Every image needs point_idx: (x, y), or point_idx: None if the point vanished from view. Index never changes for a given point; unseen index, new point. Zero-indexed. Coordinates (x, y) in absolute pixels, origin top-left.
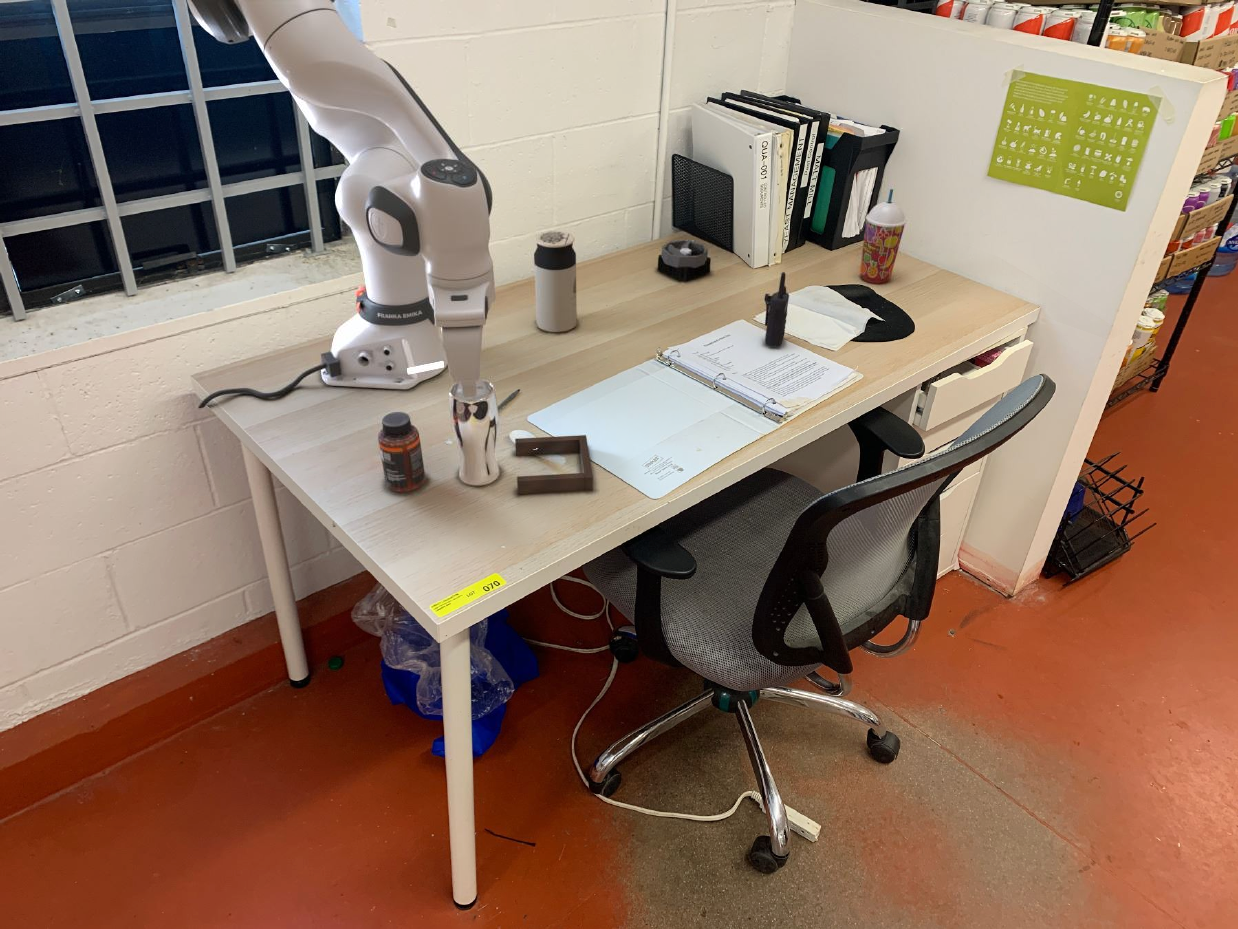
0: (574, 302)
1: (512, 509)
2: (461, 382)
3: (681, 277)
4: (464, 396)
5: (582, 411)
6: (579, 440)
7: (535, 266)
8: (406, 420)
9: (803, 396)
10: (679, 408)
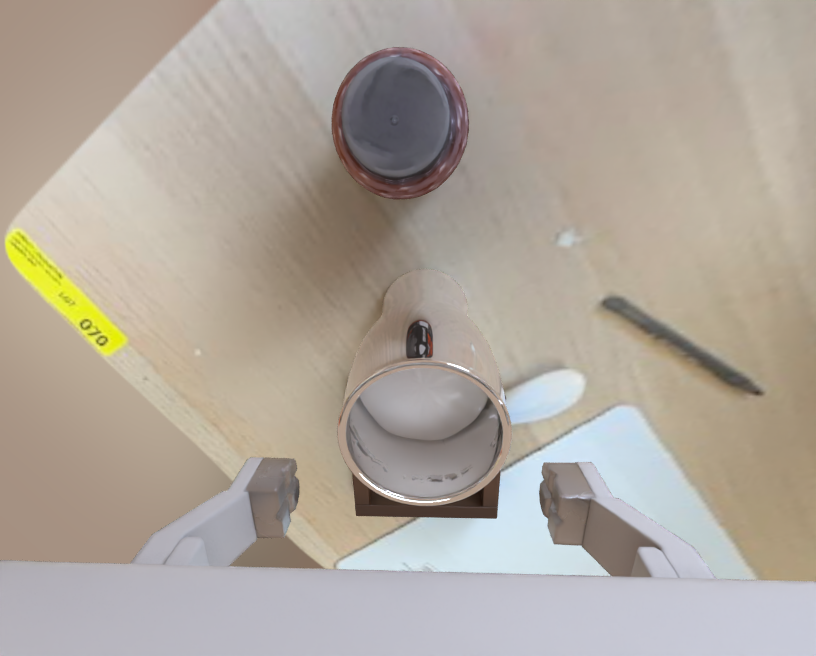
0: None
1: (306, 369)
2: (183, 518)
3: None
4: (250, 458)
5: (624, 500)
6: (479, 507)
7: None
8: (378, 166)
9: None
10: None
